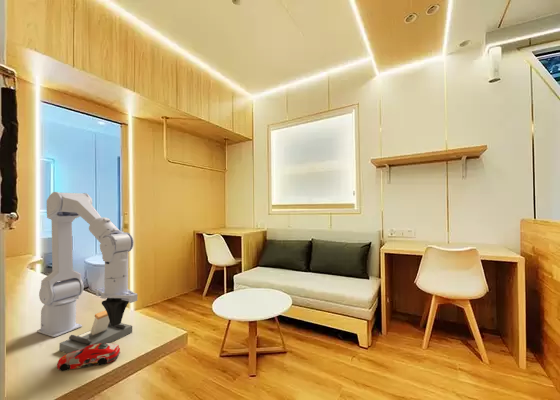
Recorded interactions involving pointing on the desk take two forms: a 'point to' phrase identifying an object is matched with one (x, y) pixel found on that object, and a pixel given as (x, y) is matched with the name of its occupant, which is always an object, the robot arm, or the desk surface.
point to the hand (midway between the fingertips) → (115, 324)
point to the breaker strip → (95, 338)
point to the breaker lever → (100, 323)
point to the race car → (89, 356)
